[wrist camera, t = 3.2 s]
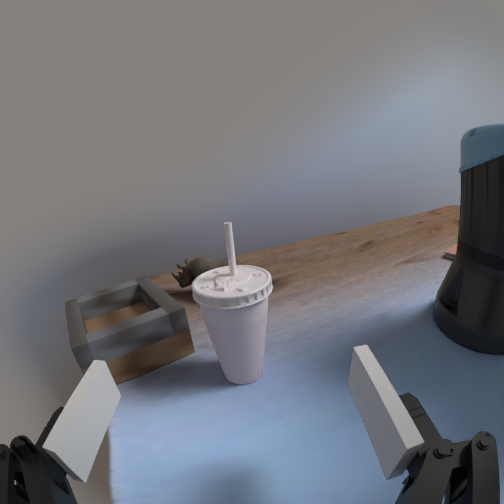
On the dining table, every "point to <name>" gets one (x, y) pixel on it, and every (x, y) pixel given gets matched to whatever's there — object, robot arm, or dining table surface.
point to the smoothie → (235, 314)
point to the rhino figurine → (199, 268)
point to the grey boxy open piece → (128, 329)
